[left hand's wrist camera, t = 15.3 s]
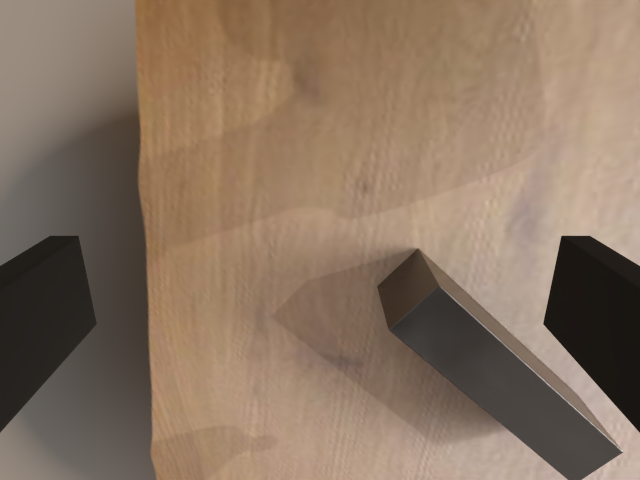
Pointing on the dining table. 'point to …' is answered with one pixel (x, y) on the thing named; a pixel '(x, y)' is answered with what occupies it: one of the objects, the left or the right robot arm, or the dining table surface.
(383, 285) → the bar
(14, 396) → the left robot arm
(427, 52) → the dining table surface
